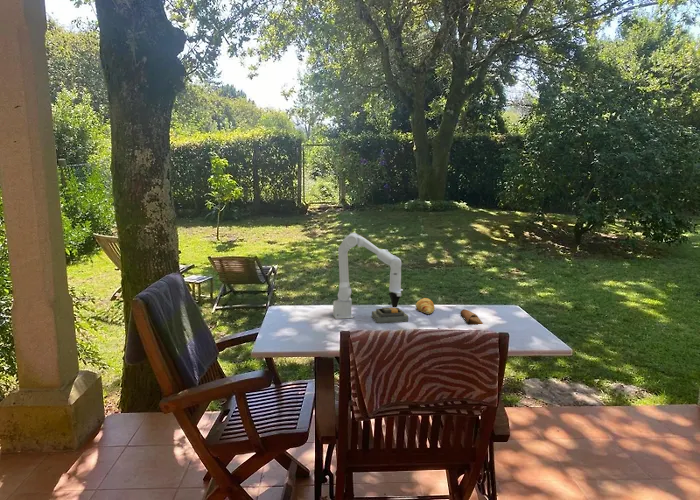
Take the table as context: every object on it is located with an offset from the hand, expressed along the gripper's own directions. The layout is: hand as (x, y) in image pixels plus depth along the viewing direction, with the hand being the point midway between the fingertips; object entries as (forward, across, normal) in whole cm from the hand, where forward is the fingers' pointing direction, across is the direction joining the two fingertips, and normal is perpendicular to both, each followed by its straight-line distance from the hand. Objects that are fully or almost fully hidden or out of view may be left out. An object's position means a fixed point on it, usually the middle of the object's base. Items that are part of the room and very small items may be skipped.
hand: (394, 306), depth 273 cm
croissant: (+7, +14, -22) cm, 27 cm away
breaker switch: (+2, 0, +2) cm, 3 cm away
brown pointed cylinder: (+7, -8, -39) cm, 41 cm away
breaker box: (+6, 0, +2) cm, 7 cm away
